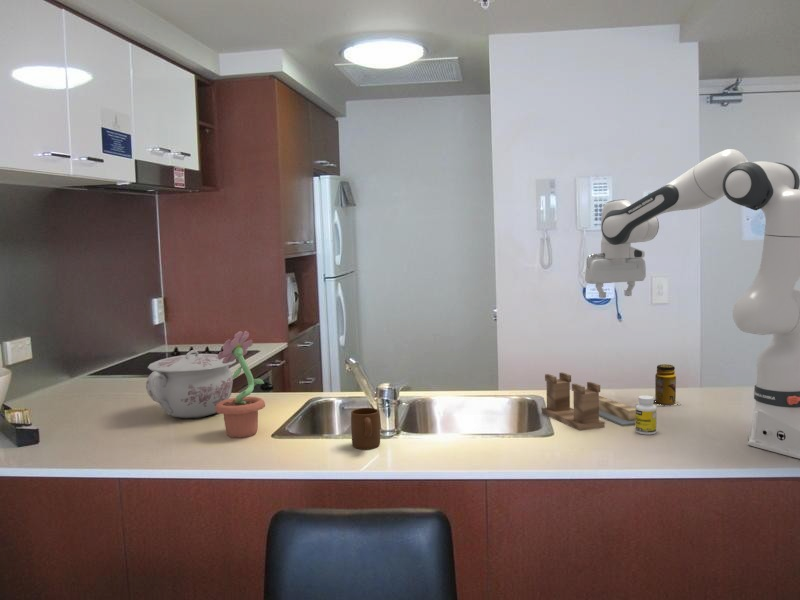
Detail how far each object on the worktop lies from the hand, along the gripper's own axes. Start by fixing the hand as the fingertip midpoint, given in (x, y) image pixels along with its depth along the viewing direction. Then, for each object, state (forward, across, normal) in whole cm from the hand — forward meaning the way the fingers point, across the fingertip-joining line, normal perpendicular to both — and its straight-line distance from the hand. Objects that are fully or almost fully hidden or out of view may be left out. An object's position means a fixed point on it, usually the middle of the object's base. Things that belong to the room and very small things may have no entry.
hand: (615, 296), depth 224 cm
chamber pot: (+35, -126, +47) cm, 139 cm away
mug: (+34, -86, -12) cm, 93 cm away
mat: (+34, -9, -11) cm, 37 cm away
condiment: (+34, +13, -6) cm, 37 cm away
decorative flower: (+34, -115, +16) cm, 121 cm away
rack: (+34, -23, -11) cm, 42 cm away
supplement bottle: (+34, -12, -31) cm, 47 cm away
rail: (+32, -9, -11) cm, 35 cm away
